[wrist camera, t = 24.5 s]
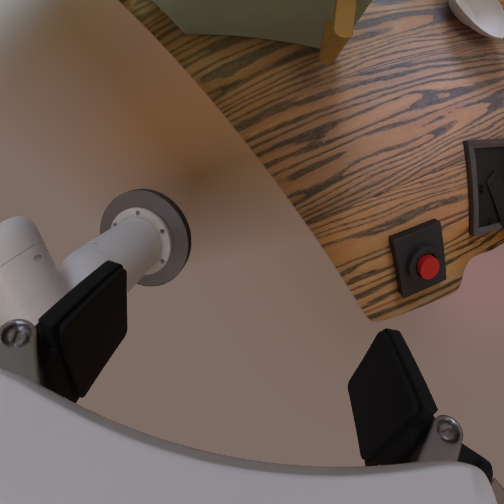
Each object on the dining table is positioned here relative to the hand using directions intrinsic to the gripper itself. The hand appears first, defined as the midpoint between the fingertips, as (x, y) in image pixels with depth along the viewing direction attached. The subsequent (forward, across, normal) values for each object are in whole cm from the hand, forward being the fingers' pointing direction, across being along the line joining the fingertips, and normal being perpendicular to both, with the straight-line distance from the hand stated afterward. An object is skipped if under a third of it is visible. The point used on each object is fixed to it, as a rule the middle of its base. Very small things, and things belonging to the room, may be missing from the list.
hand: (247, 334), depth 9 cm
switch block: (+36, -29, +5) cm, 47 cm away
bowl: (+36, -29, -49) cm, 68 cm away
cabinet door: (+36, +7, -21) cm, 42 cm away
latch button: (+33, -29, +5) cm, 44 cm away
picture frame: (+36, -42, -14) cm, 57 cm away
